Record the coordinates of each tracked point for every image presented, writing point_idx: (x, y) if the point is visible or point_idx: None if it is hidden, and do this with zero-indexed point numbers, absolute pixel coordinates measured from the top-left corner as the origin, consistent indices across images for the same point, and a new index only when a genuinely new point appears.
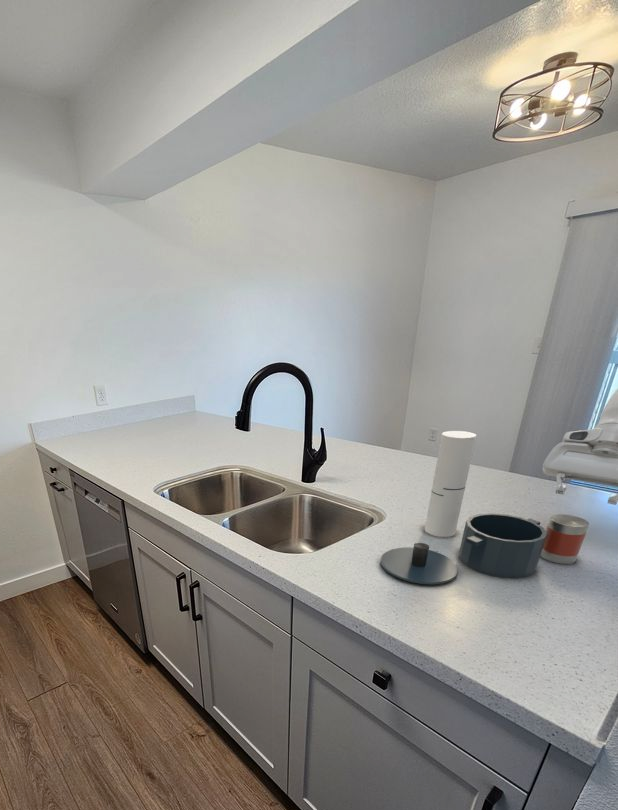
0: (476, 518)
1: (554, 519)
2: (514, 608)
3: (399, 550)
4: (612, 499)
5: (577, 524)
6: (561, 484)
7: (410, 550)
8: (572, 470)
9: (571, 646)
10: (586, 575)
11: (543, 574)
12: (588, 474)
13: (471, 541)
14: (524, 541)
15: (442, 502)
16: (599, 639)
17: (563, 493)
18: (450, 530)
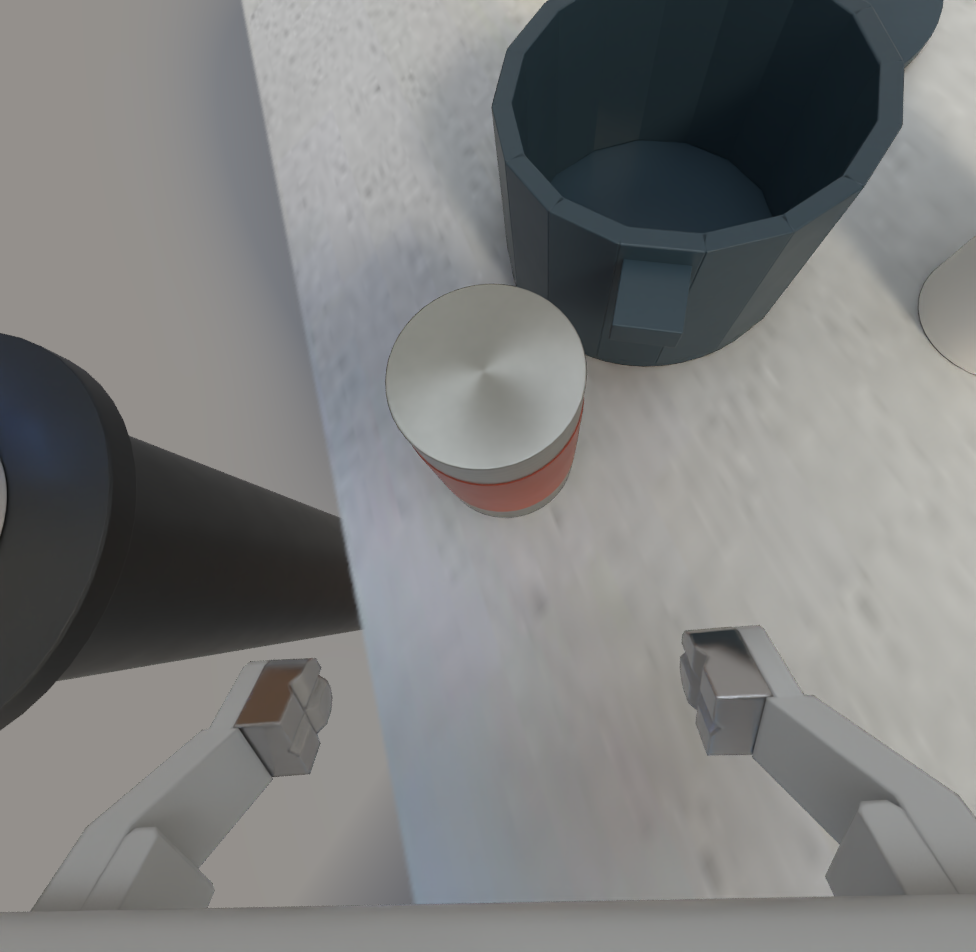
0: (871, 95)
1: (550, 323)
2: (461, 56)
3: (919, 7)
4: (277, 667)
5: (429, 340)
6: (772, 695)
7: (893, 36)
8: (862, 945)
9: (316, 31)
10: (381, 381)
11: (484, 280)
12: (560, 913)
13: None
14: (538, 20)
15: None
16: (278, 94)
17: (682, 664)
18: (948, 270)
